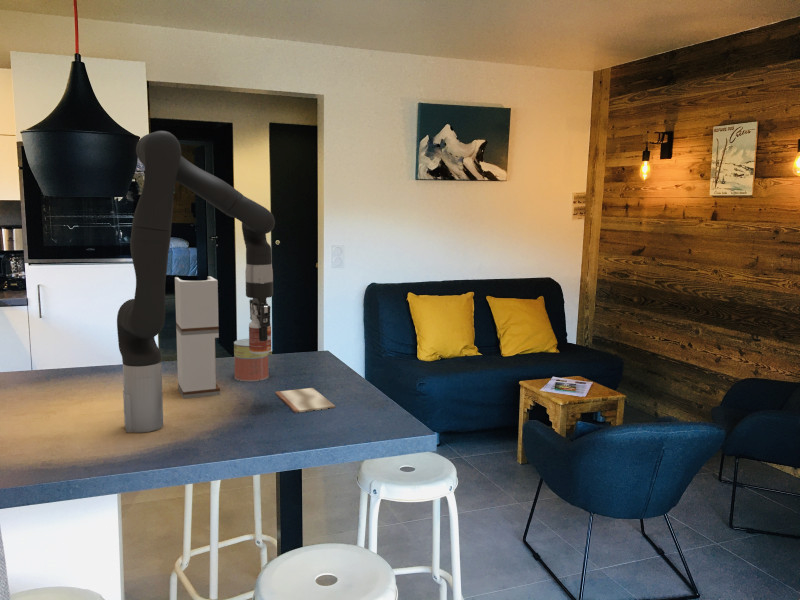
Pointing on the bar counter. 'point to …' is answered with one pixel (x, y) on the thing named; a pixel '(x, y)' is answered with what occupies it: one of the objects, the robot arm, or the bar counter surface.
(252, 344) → the pill bottle
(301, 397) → the board
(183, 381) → the white square tower
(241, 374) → the canned food
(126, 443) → the bar counter surface
